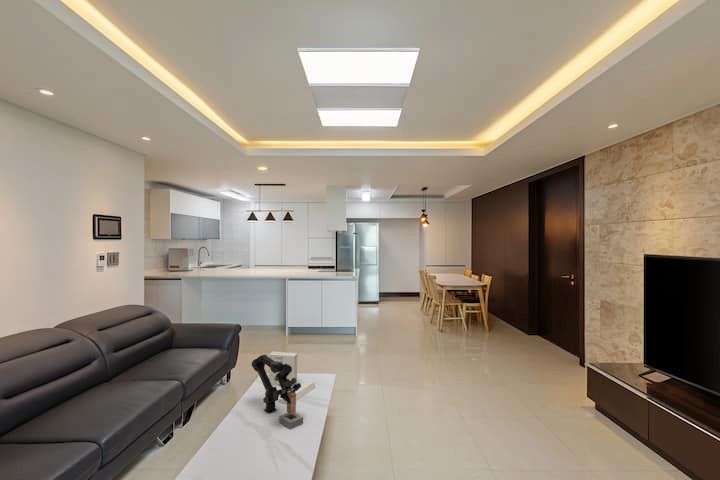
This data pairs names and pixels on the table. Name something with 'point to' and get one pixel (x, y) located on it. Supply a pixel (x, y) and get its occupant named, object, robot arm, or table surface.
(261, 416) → the table surface
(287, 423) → the grey block with slot
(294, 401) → the brown wooden block
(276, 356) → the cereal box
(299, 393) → the decorative molding
